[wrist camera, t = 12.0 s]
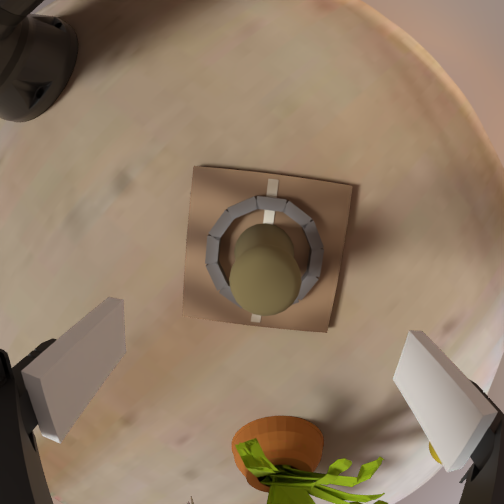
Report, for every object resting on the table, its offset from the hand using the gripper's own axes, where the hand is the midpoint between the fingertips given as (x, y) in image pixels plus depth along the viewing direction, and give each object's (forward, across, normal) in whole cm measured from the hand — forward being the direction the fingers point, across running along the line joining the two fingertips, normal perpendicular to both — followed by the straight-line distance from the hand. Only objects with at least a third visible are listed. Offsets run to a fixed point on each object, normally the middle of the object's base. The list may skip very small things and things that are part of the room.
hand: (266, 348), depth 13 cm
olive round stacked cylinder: (+19, 0, 0) cm, 19 cm away
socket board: (+20, 0, 0) cm, 21 cm away
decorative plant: (+21, +7, -29) cm, 36 cm away
